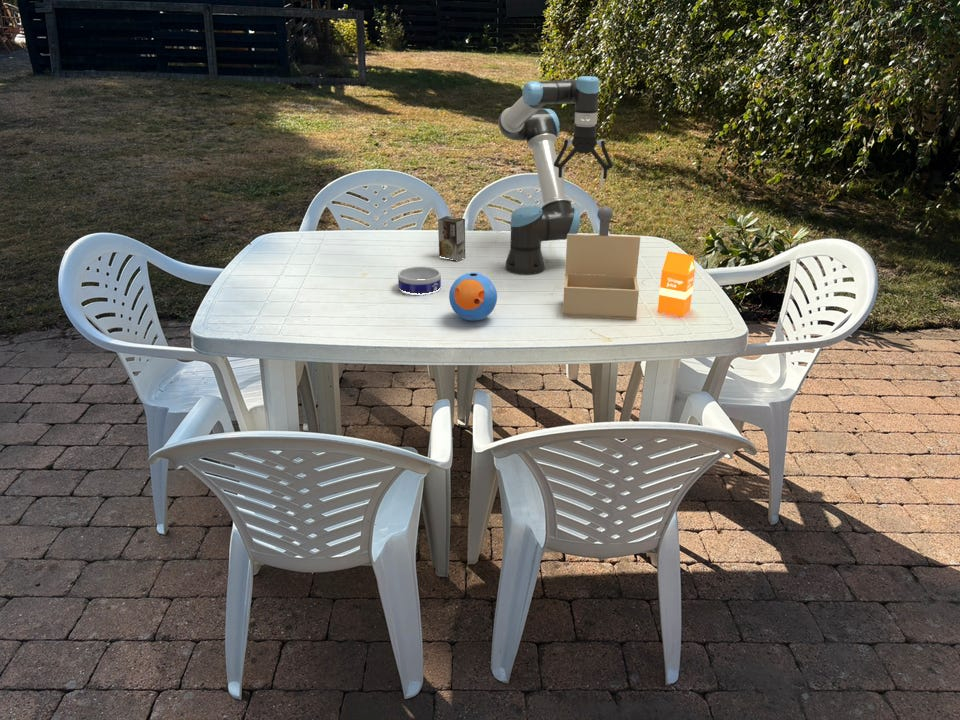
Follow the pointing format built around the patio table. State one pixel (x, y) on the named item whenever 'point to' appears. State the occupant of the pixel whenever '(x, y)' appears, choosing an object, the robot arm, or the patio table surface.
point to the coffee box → (451, 237)
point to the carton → (600, 296)
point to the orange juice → (676, 284)
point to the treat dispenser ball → (473, 296)
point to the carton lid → (602, 251)
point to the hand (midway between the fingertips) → (581, 187)
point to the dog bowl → (412, 285)
